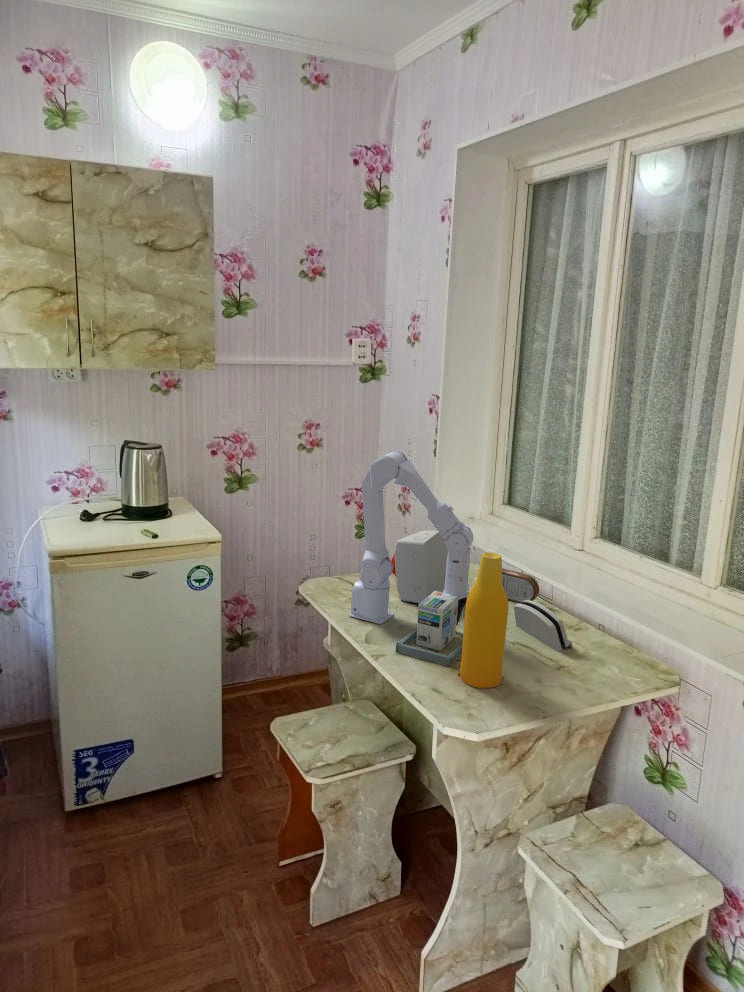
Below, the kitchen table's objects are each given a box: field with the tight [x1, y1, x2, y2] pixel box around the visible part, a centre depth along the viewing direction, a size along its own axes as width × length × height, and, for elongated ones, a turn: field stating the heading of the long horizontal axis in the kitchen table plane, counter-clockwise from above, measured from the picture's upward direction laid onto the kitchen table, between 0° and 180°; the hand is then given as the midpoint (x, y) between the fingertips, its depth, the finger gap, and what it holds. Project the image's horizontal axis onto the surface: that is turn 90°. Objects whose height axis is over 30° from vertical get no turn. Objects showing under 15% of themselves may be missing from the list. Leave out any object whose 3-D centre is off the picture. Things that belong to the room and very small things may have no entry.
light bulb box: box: [415, 591, 458, 652], centre depth 186 cm, size 11×7×11 cm, turn 153°
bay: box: [395, 626, 463, 667], centre depth 183 cm, size 14×15×2 cm
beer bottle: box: [459, 551, 509, 689], centre depth 165 cm, size 9×9×29 cm
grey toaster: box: [513, 600, 574, 652], centre depth 191 cm, size 17×5×10 cm, turn 28°
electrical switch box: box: [391, 529, 448, 604], centre depth 215 cm, size 14×15×20 cm
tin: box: [502, 567, 540, 604], centre depth 216 cm, size 15×3×8 cm, turn 58°
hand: (453, 625), depth 193 cm, fingers closed
